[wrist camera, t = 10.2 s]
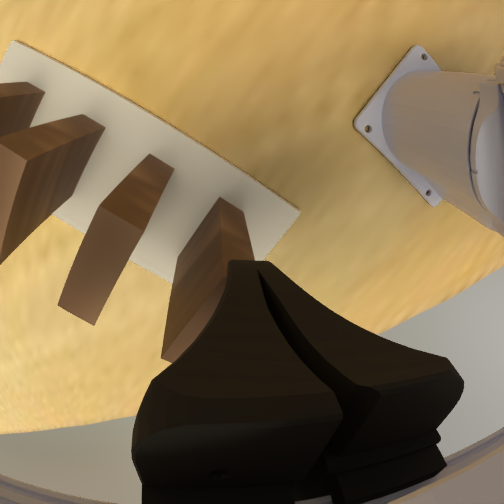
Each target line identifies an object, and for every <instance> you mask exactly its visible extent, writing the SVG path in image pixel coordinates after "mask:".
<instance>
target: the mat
mask: <svg viewBox="0 0 504 504" xmlns="http://www.w3.org/2000/svg"><path fill="white" fill-rule="evenodd" d="M12 82H29V83H30V84H32V85H34V86H36V87H37V88H39V89H41V90H43V91H45V94H44V96H43V98H42V100H41V103H40V105H39V107H38V109H37V111H36V113H35V116H34V118H33V120H32V123H31V125H30V127H34V126H37V125H41V124H44V123H48V122H52V121H56V120H60V119H64V118H68V117H72V116H76V115H80V114H84V115H86V116H87V117H89V118H91V119H93V120H94V121H96V122H98V123H99V124H101V125H103V126H104V127H106V128H105V130H104V132H103V134H102V135H101V137H100V139H99V141H98V143H97V145H96V147H95V149H94V151H93V153H92V155H91V157H90V159H89V161H88V163H87V165H86V167H85V169H84V171H83V173H82V175H81V177H80V180H79V182H78V184H77V186H76V188H75V191H74V193H73V195H72V197H70V198H69V199H68V200H67V201H66V202H65V203H63V204H62V205H61V206H60V207H59V208H58V209H57V210H56V211H54V212H53V213H52V215H54V216H56V217H57V218H59V219H60V220H62V221H64V222H65V223H67V224H68V225H70V226H72V227H73V228H75V229H77V230H78V231H80V232H82V233H83V234H86V232H87V230H88V227H89V225H90V223H91V221H92V219H93V217H94V215H95V212H96V210H97V208H98V206H99V205H100V204H101V202H102V201H103V200H104V199H105V198H106V197H107V196H108V195H109V194H110V193H111V192H112V191H113V190H114V188H115V187H116V186H117V185H118V184H119V183H120V182H121V181H122V180H123V179H124V178H125V177H126V176H127V175H128V174H129V173H130V172H131V171H132V170H133V169H134V168H135V167H136V166H137V165H138V164H139V163H140V162H141V161H142V160H143V159H144V158H145V157H146V156H147V155H148V154H149V153H150V154H151V155H153V156H155V157H156V158H158V159H160V160H161V161H163V162H165V163H166V164H168V165H169V166H171V167H173V168H174V171H173V173H172V175H171V177H170V179H169V181H168V183H167V185H166V187H165V189H164V191H163V193H162V195H161V197H160V199H159V201H158V204H157V206H156V208H155V210H154V212H153V214H152V216H151V218H150V220H149V223H148V225H147V227H146V229H145V231H144V233H143V235H142V237H141V238H140V240H139V242H138V244H137V245H136V247H135V249H134V251H133V252H132V254H131V256H130V258H129V260H130V261H132V262H133V263H135V264H137V265H139V266H141V267H142V268H144V269H146V270H148V271H150V272H151V273H153V274H155V275H157V276H159V277H161V278H163V279H164V280H166V281H168V282H170V283H172V284H173V279H174V273H175V268H176V263H177V257H178V256H179V254H180V253H181V252H182V250H183V249H184V247H185V246H186V244H187V243H188V241H189V240H190V238H191V237H192V235H193V234H194V232H195V231H196V229H197V228H198V227H199V225H200V224H201V222H202V221H203V219H204V218H205V216H206V215H207V214H208V212H209V211H210V209H211V208H212V206H213V205H214V204H215V202H216V201H217V199H218V198H219V197H221V198H223V199H224V200H226V201H227V202H229V203H230V204H232V205H234V206H235V207H237V208H238V209H240V210H241V211H243V212H244V216H245V220H246V224H247V228H248V233H249V237H250V241H251V245H252V250H253V254H254V258H255V261H263V260H264V259H265V257H266V256H267V255H268V254H269V252H270V251H271V250H272V249H273V248H274V246H275V245H276V244H277V243H278V241H279V240H280V239H281V238H282V236H283V235H284V234H285V233H286V232H287V230H288V229H289V228H290V227H291V225H292V224H293V223H294V222H295V220H296V219H297V218H298V217H299V215H300V214H301V212H300V211H299V209H297V208H296V207H294V206H293V205H291V204H290V203H289V202H287V201H286V200H284V199H283V198H282V197H280V196H279V195H277V194H276V193H274V192H273V191H271V190H270V189H269V188H267V187H266V186H264V185H263V184H261V183H260V182H258V181H257V180H255V179H254V178H252V177H251V176H249V175H248V174H247V173H245V172H244V171H242V170H241V169H239V168H238V167H236V166H235V165H233V164H231V163H230V162H228V161H227V160H225V159H224V158H222V157H221V156H219V155H218V154H216V153H215V152H213V151H212V150H210V149H208V148H207V147H205V146H204V145H202V144H201V143H199V142H197V141H196V140H194V139H193V138H191V137H190V136H188V135H186V134H185V133H183V132H182V131H180V130H178V129H177V128H175V127H173V126H172V125H170V124H169V123H167V122H165V121H164V120H162V119H160V118H159V117H157V116H155V115H154V114H152V113H150V112H149V111H147V110H145V109H144V108H142V107H140V106H139V105H137V104H135V103H133V102H132V101H130V100H128V99H127V98H125V97H123V96H121V95H120V94H118V93H116V92H114V91H113V90H111V89H109V88H107V87H105V86H104V85H102V84H100V83H98V82H96V81H95V80H93V79H91V78H89V77H87V76H85V75H84V74H82V73H80V72H78V71H76V70H74V69H72V68H70V67H69V66H67V65H65V64H63V63H61V62H59V61H57V60H55V59H53V58H51V57H49V56H47V55H45V54H43V53H41V52H39V51H37V50H35V49H33V48H31V47H29V46H27V45H25V44H23V43H21V42H19V41H16V40H12V41H11V43H10V45H9V47H8V49H7V51H6V53H5V55H4V57H3V59H2V61H1V64H0V83H12ZM30 127H29V128H30Z"/></svg>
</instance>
